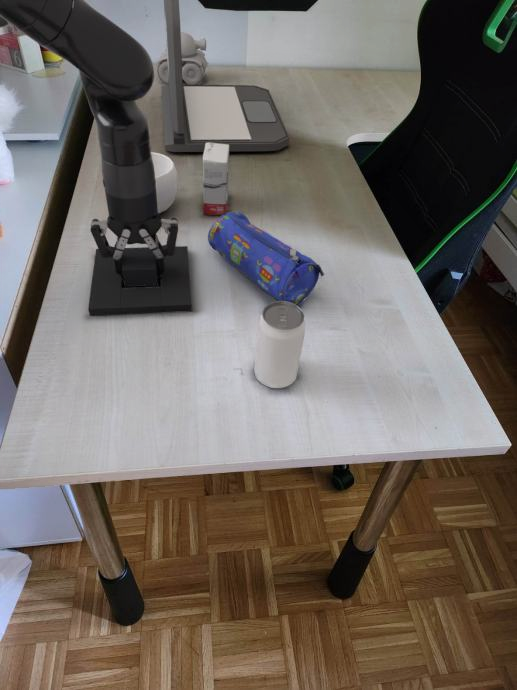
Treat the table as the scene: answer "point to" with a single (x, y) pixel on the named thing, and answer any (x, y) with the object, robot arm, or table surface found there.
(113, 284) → the socket pad
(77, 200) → the table surface
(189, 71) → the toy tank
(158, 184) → the cup
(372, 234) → the table surface
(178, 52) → the gray camera stand
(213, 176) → the ink box
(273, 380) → the can
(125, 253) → the plug pad
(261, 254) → the pencil case
